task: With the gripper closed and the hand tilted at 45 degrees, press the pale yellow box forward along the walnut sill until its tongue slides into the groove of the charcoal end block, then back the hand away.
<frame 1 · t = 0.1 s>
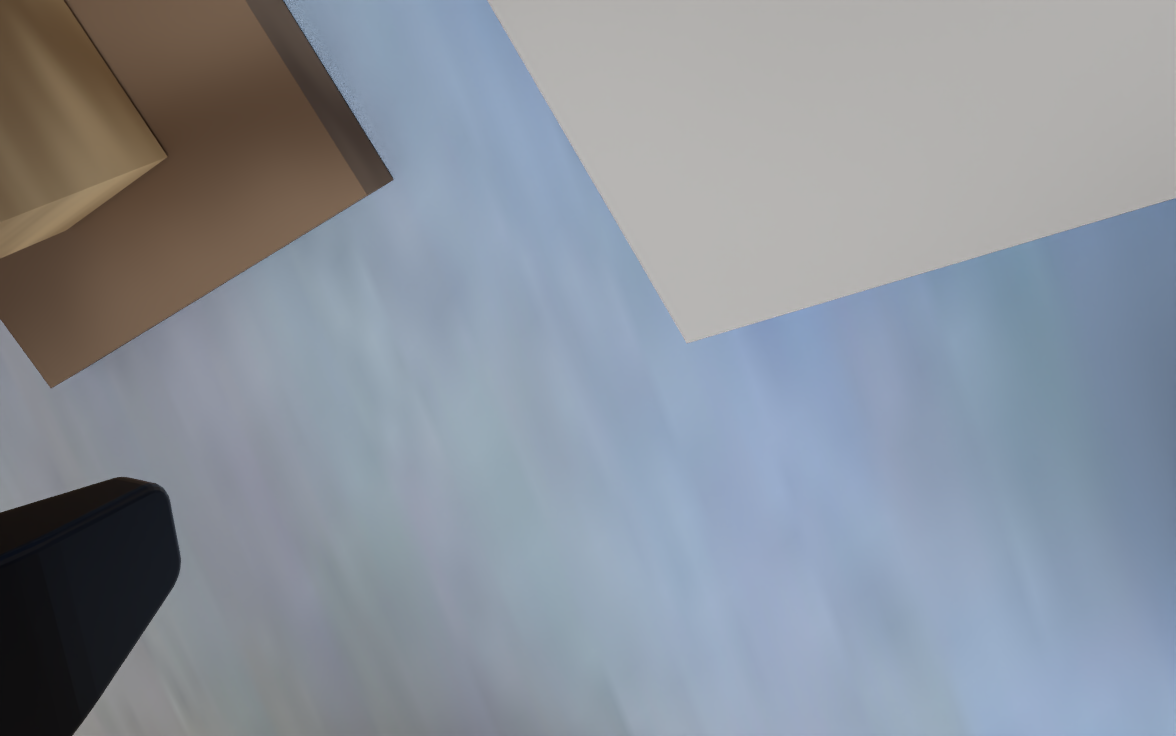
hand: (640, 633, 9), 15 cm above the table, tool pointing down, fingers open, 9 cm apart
walnut sill: (77, 70, 26), on the table
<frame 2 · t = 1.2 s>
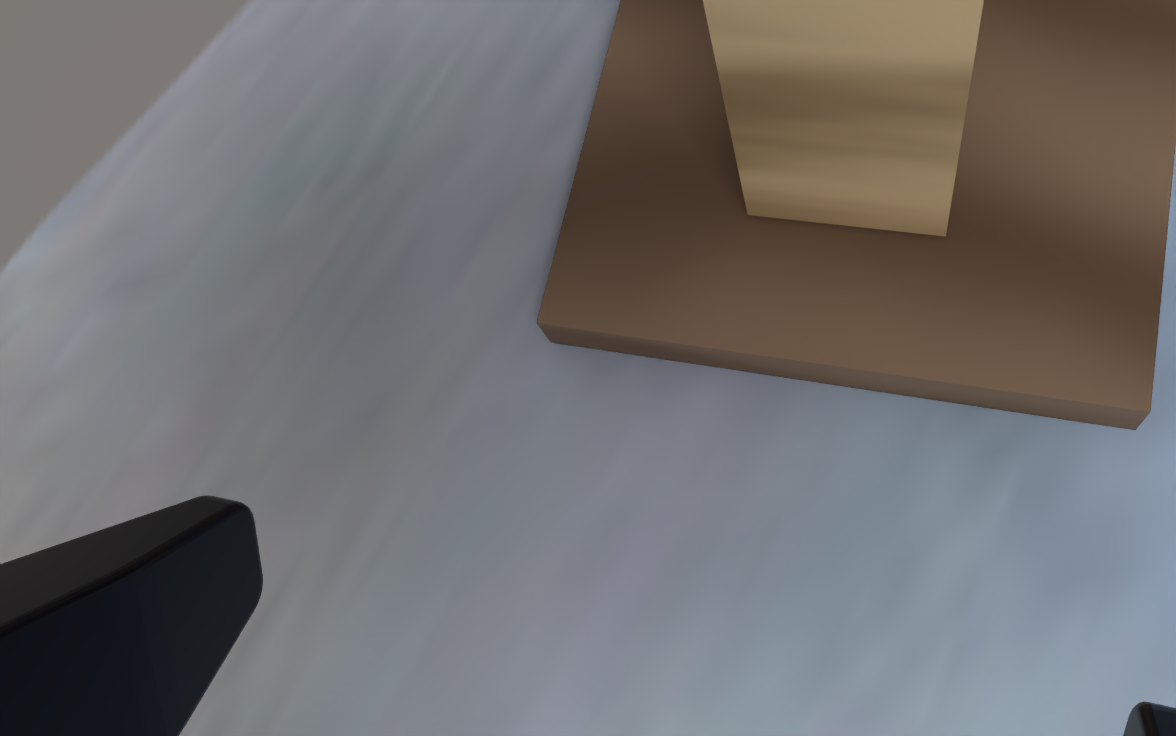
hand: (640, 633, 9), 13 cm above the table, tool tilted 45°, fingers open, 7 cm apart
walnut sill: (867, 130, 25), on the table
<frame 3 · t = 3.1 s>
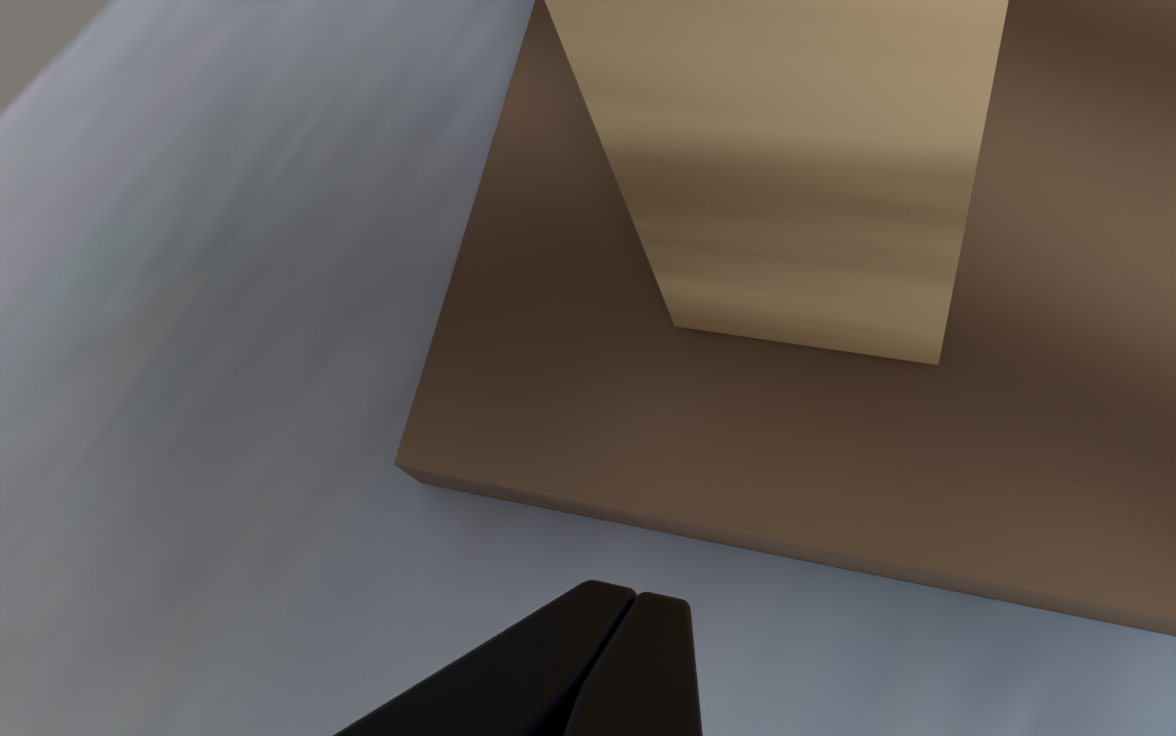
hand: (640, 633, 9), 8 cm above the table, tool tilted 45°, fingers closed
walnut sill: (837, 210, 19), on the table
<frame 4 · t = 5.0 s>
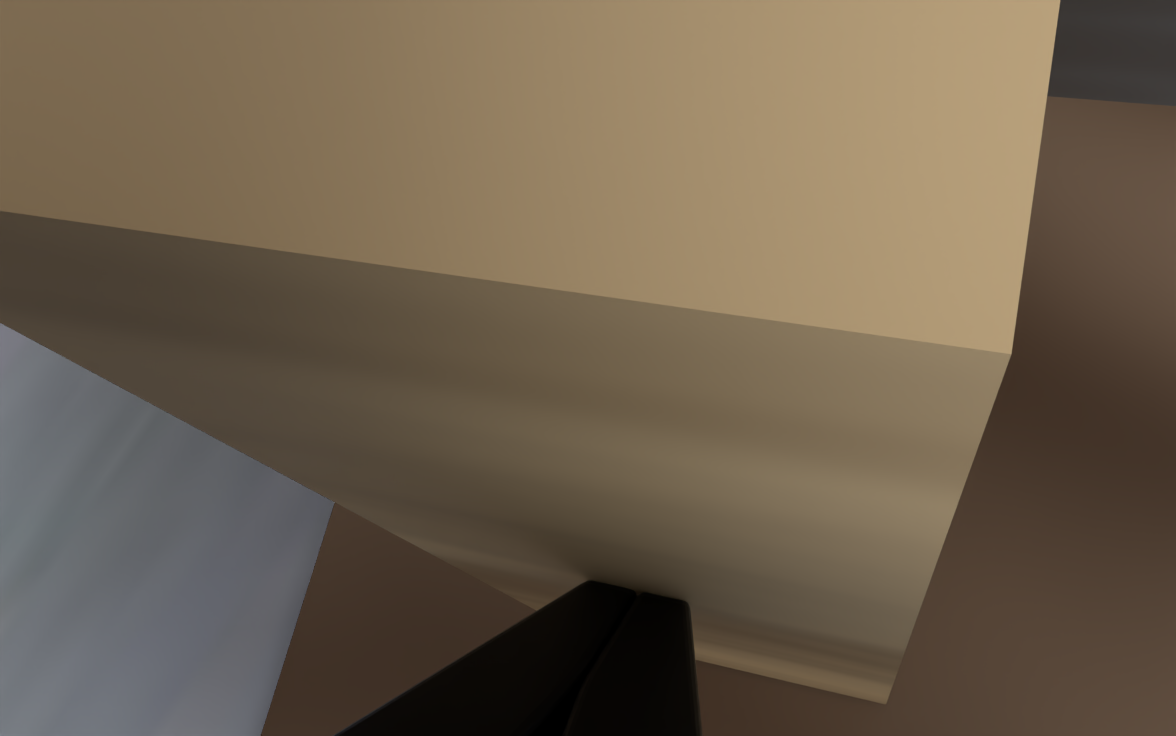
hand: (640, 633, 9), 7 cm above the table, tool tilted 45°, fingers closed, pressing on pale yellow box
walnut sill: (752, 584, 16), on the table
pale yellow box: (735, 165, 10), point 7 cm above the table, slide at 1.7 cm, touching gripper
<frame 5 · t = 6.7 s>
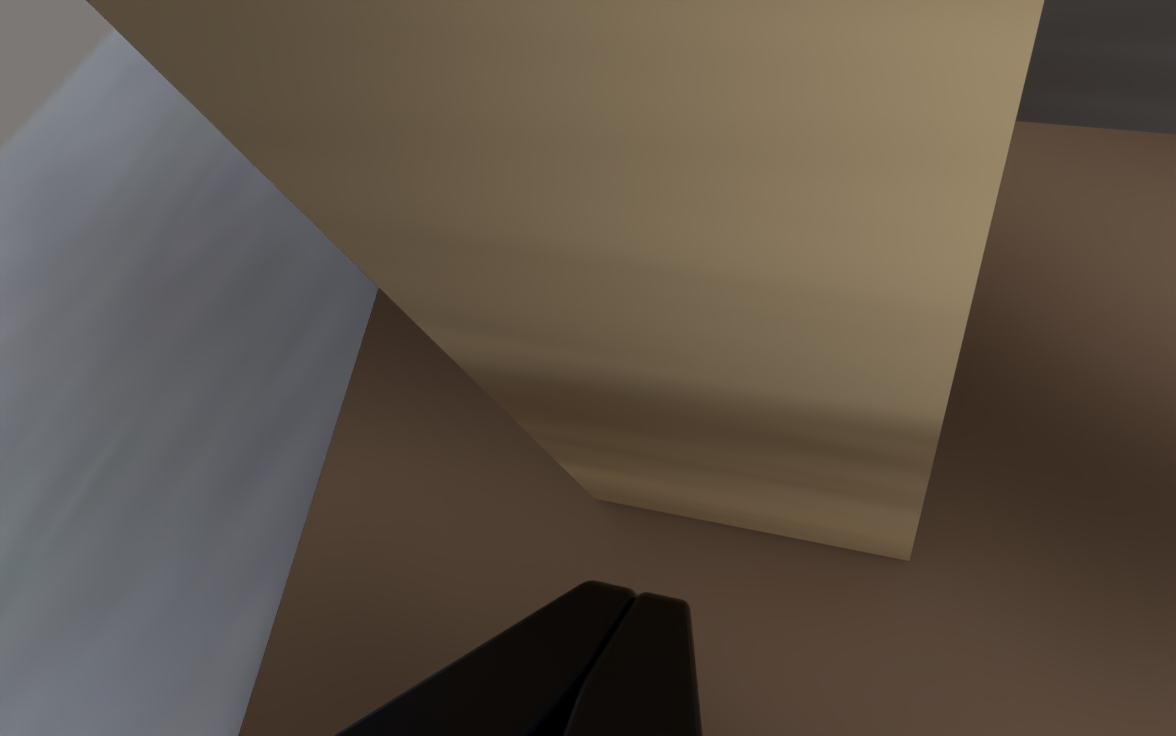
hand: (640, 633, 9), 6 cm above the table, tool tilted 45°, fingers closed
walnut sill: (735, 644, 15), on the table
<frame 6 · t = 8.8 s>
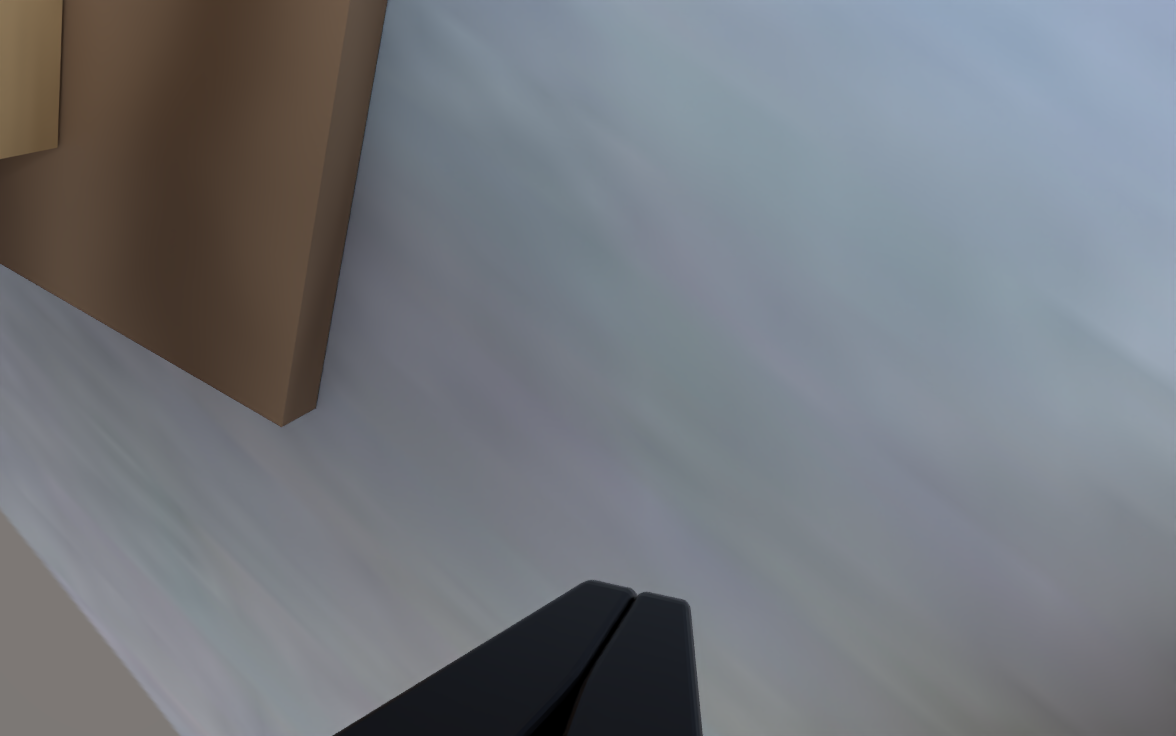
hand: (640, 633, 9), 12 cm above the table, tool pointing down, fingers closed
walnut sill: (149, 78, 25), on the table
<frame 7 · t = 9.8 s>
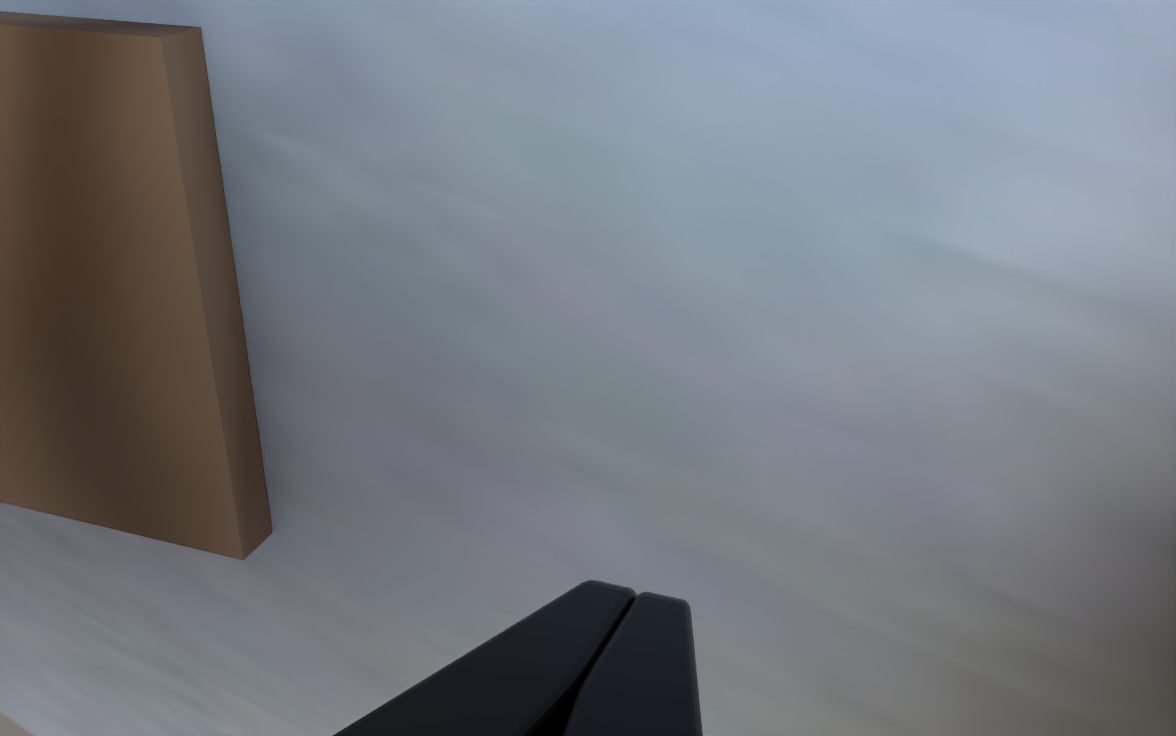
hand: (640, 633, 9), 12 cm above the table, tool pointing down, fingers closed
walnut sill: (23, 272, 26), on the table
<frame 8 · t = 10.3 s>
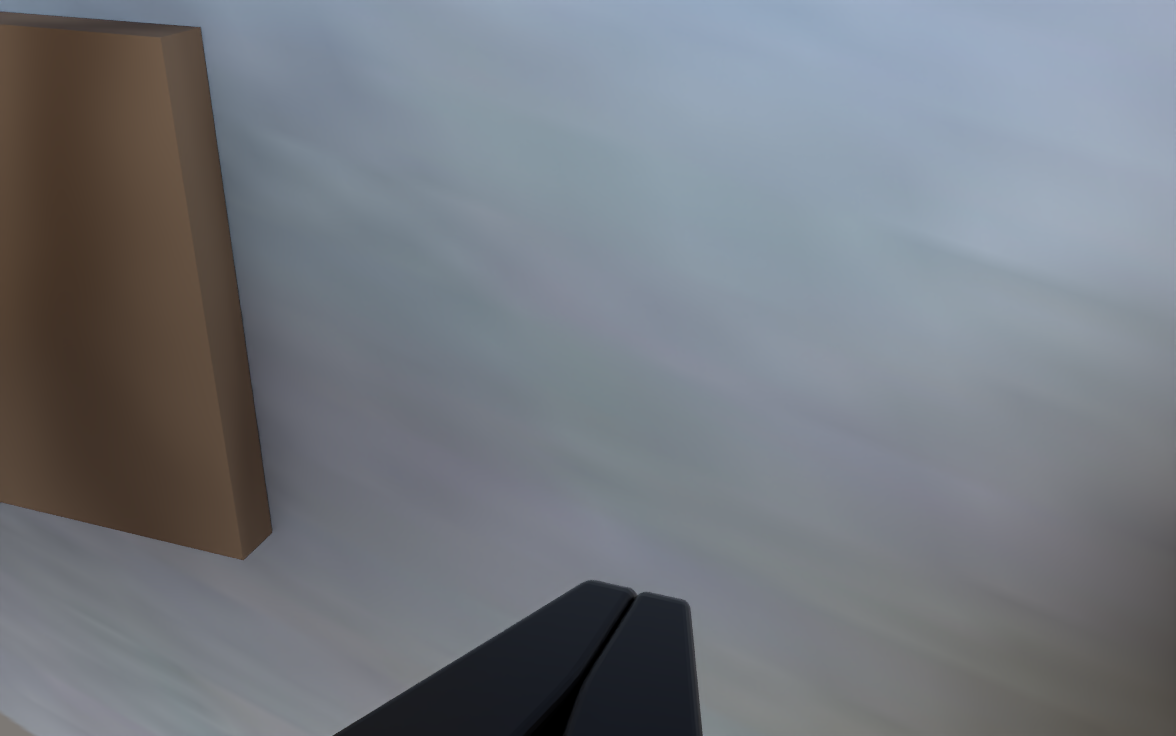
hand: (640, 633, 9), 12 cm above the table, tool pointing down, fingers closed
walnut sill: (23, 272, 26), on the table
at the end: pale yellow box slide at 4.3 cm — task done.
